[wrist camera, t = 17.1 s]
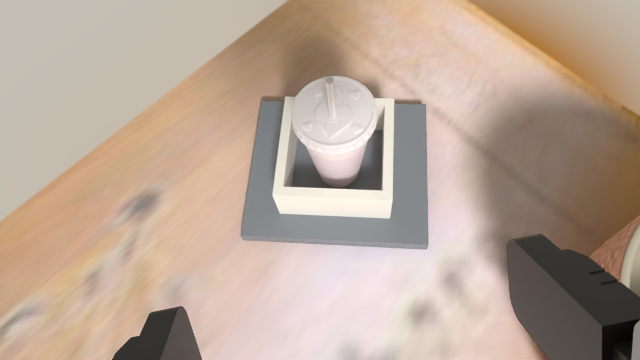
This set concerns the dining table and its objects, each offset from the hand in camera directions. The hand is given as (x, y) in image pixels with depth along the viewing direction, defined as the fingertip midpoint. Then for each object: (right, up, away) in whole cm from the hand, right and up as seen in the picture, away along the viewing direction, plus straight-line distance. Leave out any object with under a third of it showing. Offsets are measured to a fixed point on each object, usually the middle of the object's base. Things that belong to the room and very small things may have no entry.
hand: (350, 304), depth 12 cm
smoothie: (+1, +4, +33) cm, 33 cm away
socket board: (+1, +4, +34) cm, 34 cm away
